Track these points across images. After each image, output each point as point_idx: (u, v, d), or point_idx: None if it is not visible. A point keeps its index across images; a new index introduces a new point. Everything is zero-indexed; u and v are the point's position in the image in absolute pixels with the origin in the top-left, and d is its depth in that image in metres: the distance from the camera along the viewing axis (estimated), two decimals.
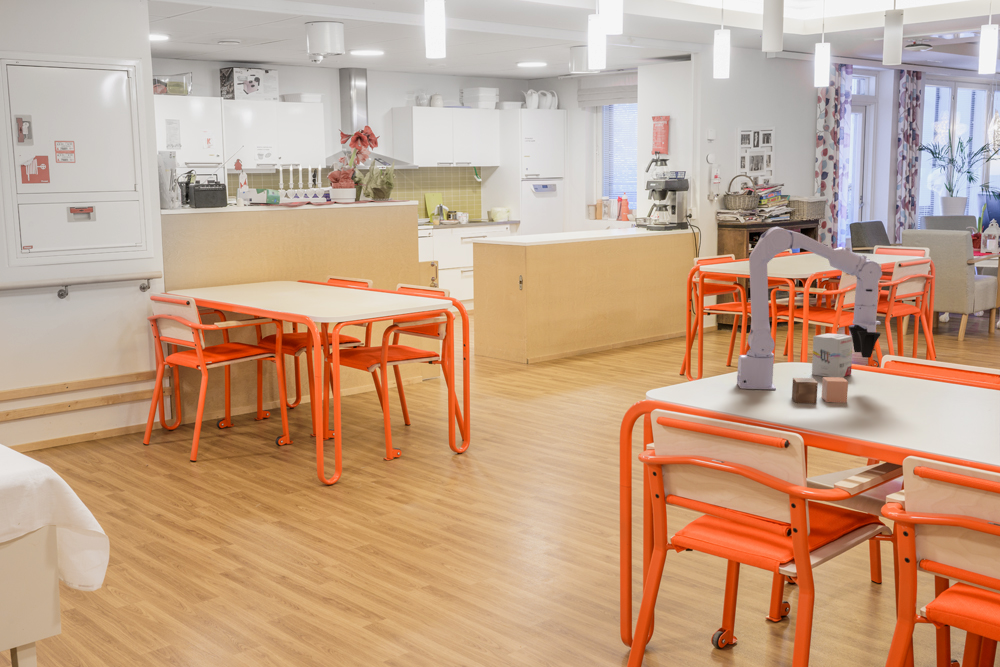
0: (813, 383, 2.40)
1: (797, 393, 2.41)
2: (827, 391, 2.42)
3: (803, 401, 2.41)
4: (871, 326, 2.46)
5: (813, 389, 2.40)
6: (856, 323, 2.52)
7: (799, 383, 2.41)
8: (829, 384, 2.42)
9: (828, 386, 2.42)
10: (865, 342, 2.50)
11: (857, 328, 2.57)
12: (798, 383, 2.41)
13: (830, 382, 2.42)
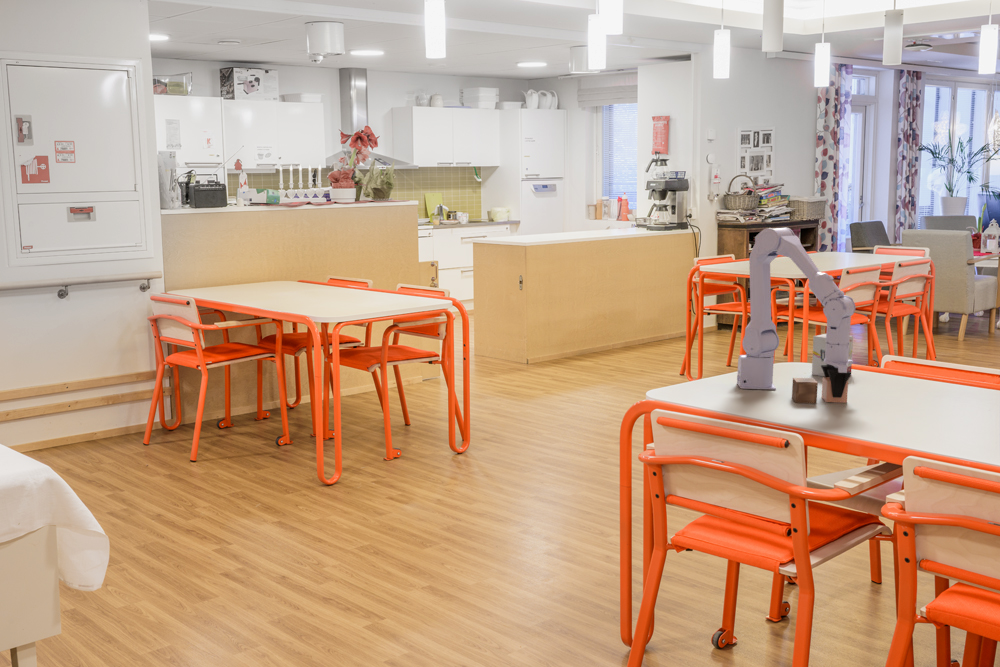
0: (813, 383, 2.40)
1: (797, 393, 2.41)
2: (827, 391, 2.42)
3: (803, 401, 2.41)
4: (842, 366, 2.36)
5: (813, 389, 2.40)
6: (827, 362, 2.42)
7: (799, 383, 2.41)
8: (829, 384, 2.42)
9: (828, 386, 2.42)
10: (835, 382, 2.41)
11: (830, 367, 2.46)
12: (798, 383, 2.41)
13: (830, 382, 2.42)
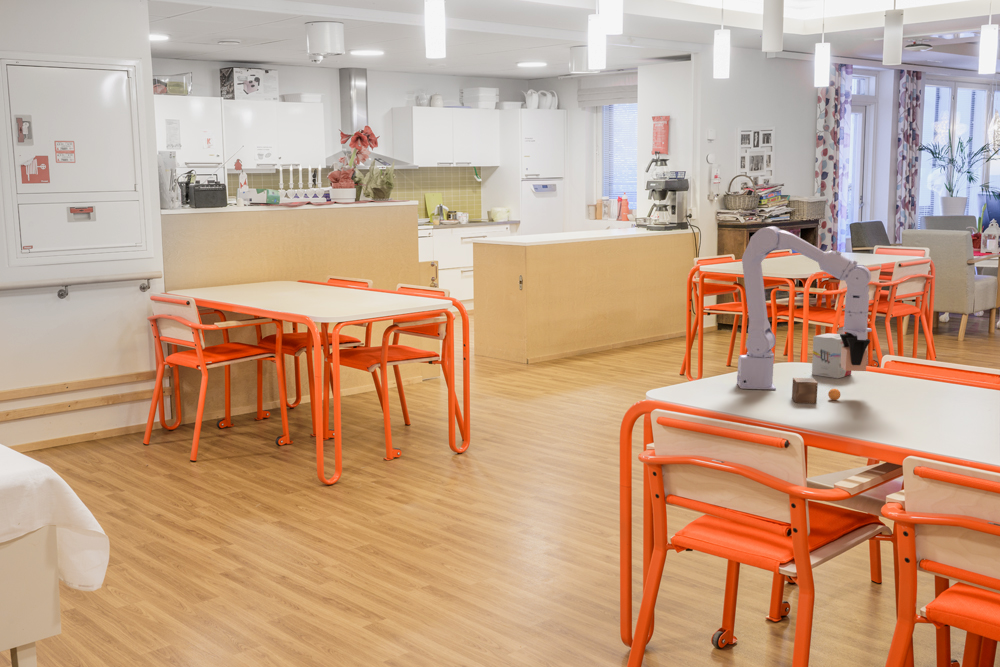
0: (813, 383, 2.40)
1: (797, 393, 2.41)
2: (846, 360, 2.46)
3: (803, 401, 2.41)
4: (861, 334, 2.40)
5: (813, 389, 2.40)
6: (846, 330, 2.45)
7: (799, 383, 2.41)
8: (849, 353, 2.45)
9: (848, 355, 2.46)
10: (854, 349, 2.44)
11: (849, 336, 2.50)
12: (798, 383, 2.41)
13: None
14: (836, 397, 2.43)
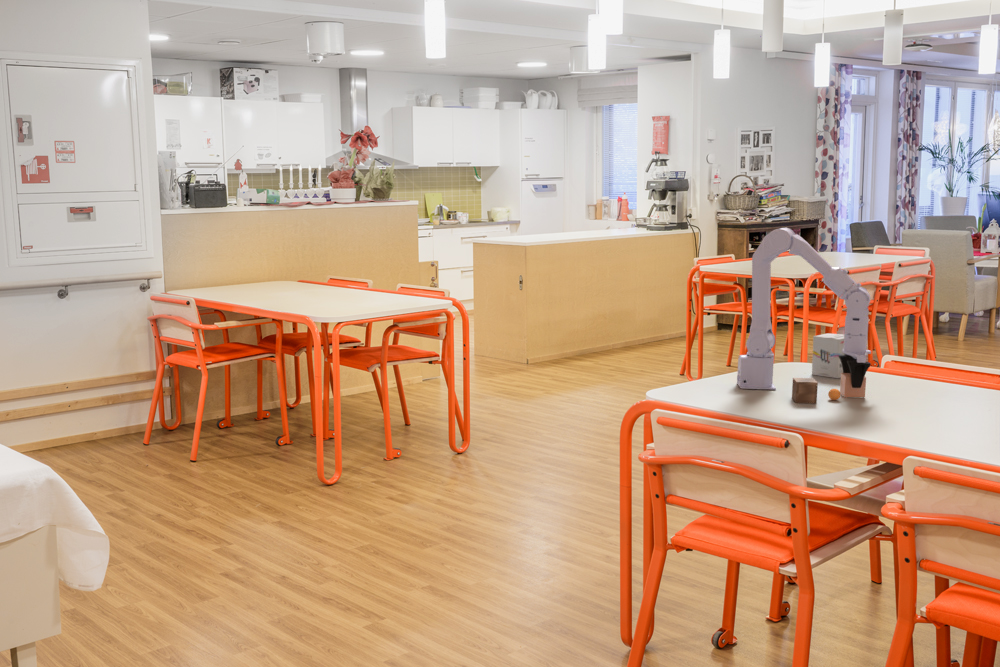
0: (813, 383, 2.40)
1: (797, 393, 2.41)
2: (845, 387, 2.47)
3: (803, 401, 2.41)
4: (861, 356, 2.41)
5: (813, 389, 2.40)
6: (846, 353, 2.47)
7: (799, 383, 2.41)
8: (847, 380, 2.47)
9: (846, 382, 2.47)
10: (855, 372, 2.45)
11: (847, 357, 2.52)
12: (798, 383, 2.41)
13: (848, 378, 2.47)
14: (836, 397, 2.43)
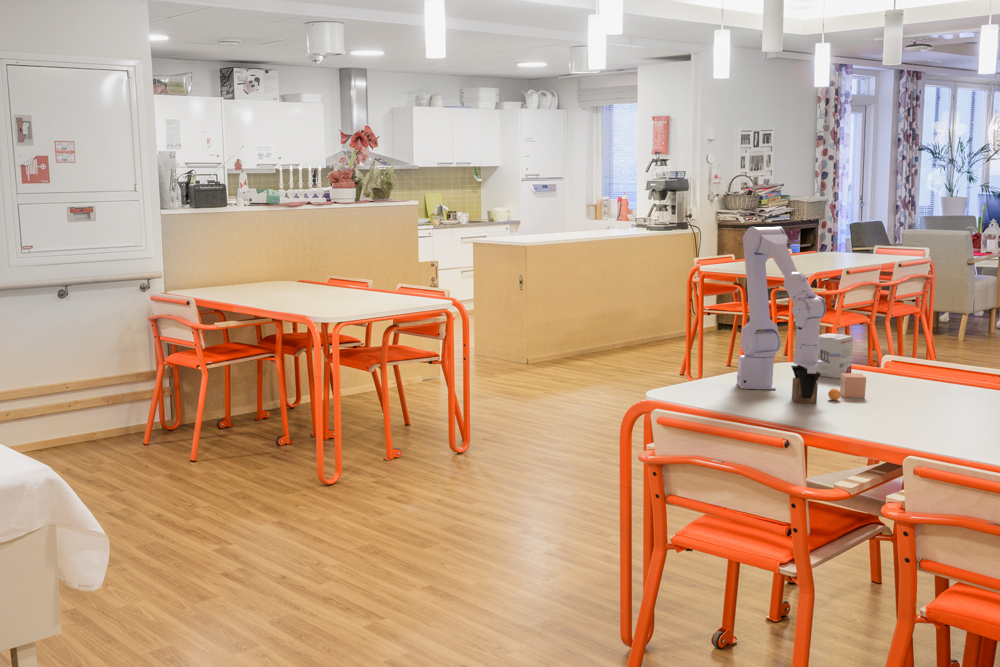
0: None
1: (797, 393, 2.41)
2: (845, 387, 2.47)
3: (803, 401, 2.41)
4: (811, 367, 2.35)
5: None
6: (797, 363, 2.41)
7: (799, 383, 2.41)
8: (847, 380, 2.47)
9: (846, 382, 2.47)
10: (805, 382, 2.40)
11: (800, 368, 2.45)
12: (798, 383, 2.41)
13: (848, 378, 2.47)
14: (836, 397, 2.43)
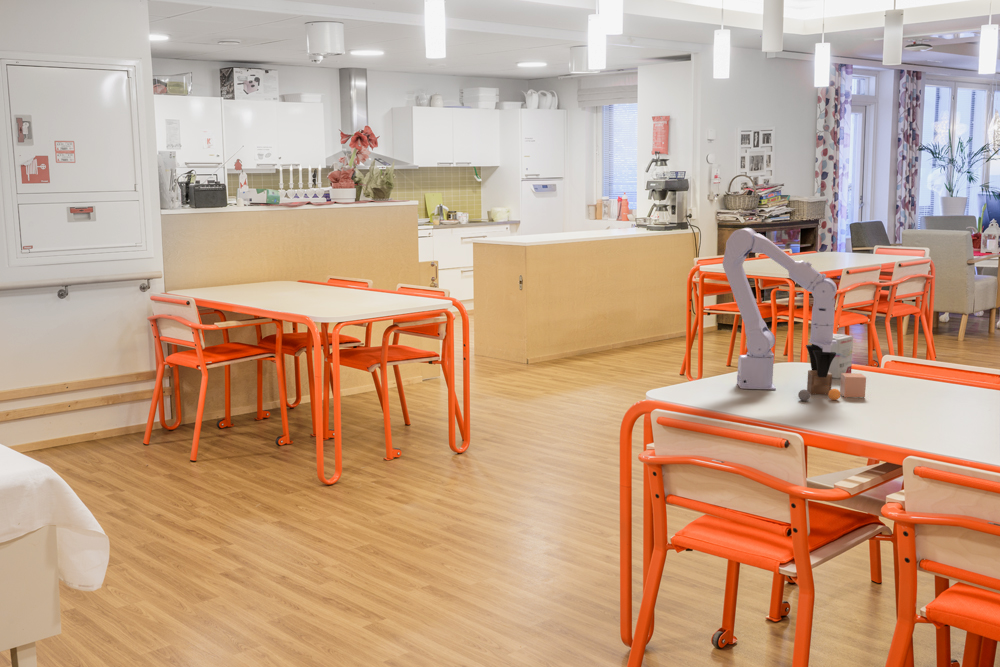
0: (828, 375, 2.50)
1: (812, 385, 2.51)
2: (845, 387, 2.47)
3: (818, 393, 2.51)
4: (826, 346, 2.45)
5: (828, 381, 2.51)
6: (812, 342, 2.50)
7: (814, 375, 2.51)
8: (847, 380, 2.47)
9: (846, 382, 2.47)
10: (821, 362, 2.48)
11: (814, 347, 2.56)
12: (813, 375, 2.51)
13: (848, 378, 2.47)
14: (836, 397, 2.43)
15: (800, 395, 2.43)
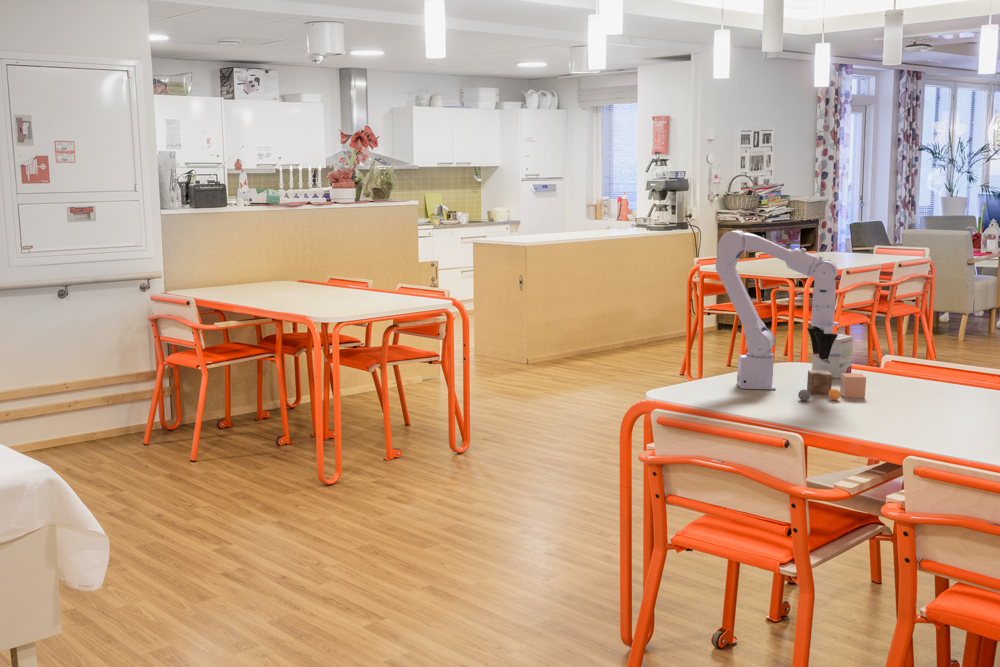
0: (828, 375, 2.50)
1: (812, 385, 2.51)
2: (845, 387, 2.47)
3: (818, 393, 2.51)
4: (827, 327, 2.44)
5: (828, 381, 2.51)
6: (813, 324, 2.49)
7: (814, 375, 2.51)
8: (847, 380, 2.47)
9: (846, 382, 2.47)
10: (822, 343, 2.47)
11: (816, 329, 2.55)
12: (813, 375, 2.51)
13: (848, 378, 2.47)
14: (836, 397, 2.43)
15: (800, 395, 2.43)
